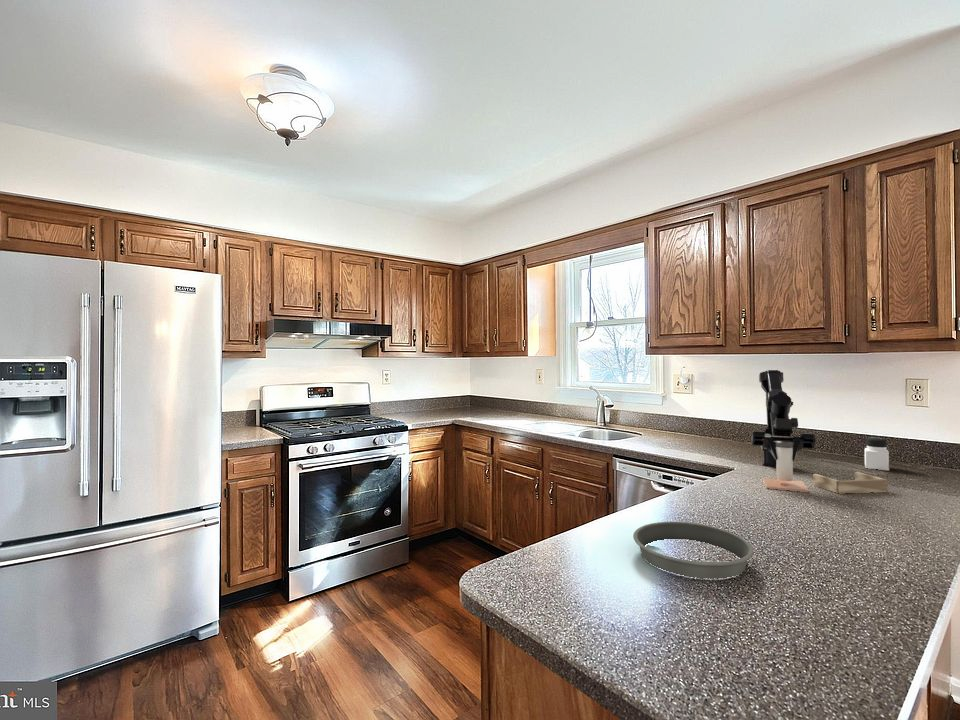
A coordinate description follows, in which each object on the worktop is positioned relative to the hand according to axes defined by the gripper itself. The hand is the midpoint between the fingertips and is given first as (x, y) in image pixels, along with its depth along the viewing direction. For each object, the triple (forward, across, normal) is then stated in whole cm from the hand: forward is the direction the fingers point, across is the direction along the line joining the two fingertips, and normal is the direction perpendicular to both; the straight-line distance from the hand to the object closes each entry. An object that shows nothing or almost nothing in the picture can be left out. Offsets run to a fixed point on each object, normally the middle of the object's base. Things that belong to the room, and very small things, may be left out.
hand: (784, 459), depth 160 cm
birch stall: (+2, +19, +11) cm, 22 cm away
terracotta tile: (+6, 0, +8) cm, 10 cm away
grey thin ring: (+60, -27, -46) cm, 80 cm away
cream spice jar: (+4, 0, +6) cm, 7 cm away
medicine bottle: (-25, +36, +39) cm, 59 cm away
